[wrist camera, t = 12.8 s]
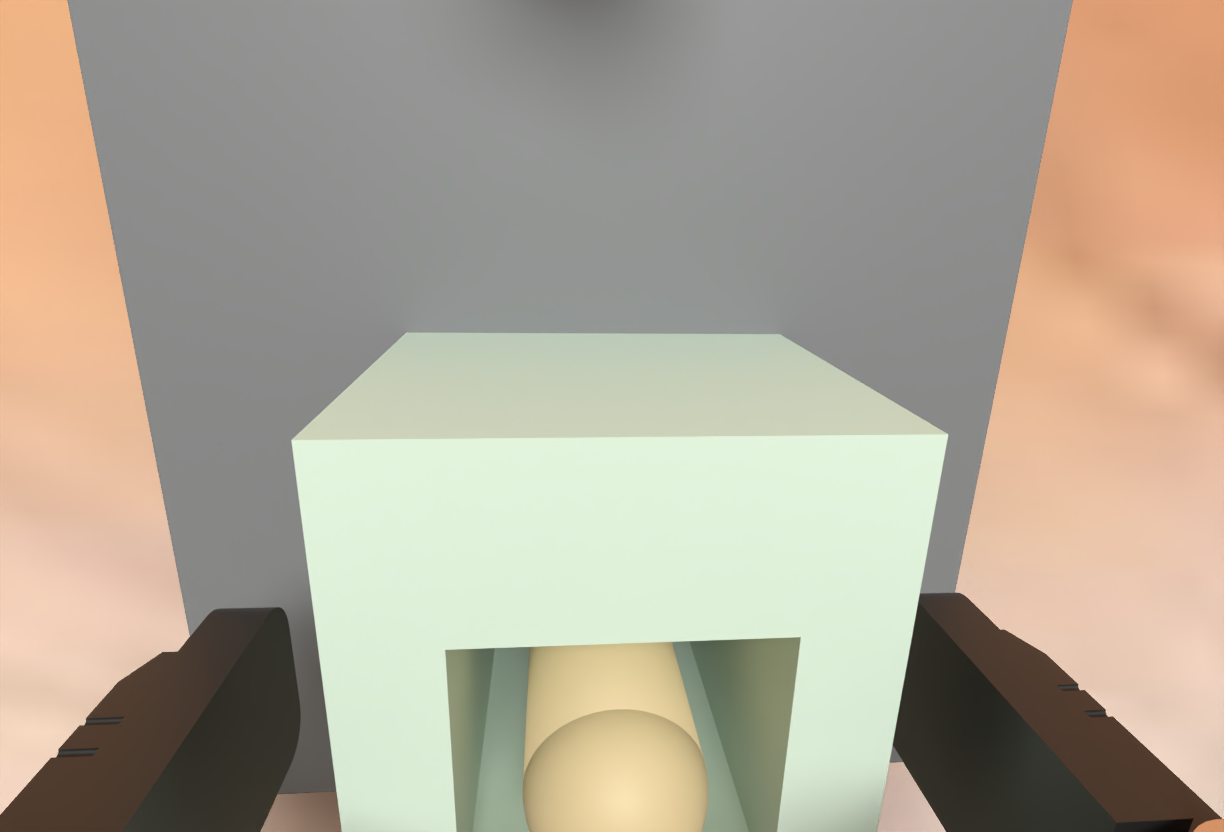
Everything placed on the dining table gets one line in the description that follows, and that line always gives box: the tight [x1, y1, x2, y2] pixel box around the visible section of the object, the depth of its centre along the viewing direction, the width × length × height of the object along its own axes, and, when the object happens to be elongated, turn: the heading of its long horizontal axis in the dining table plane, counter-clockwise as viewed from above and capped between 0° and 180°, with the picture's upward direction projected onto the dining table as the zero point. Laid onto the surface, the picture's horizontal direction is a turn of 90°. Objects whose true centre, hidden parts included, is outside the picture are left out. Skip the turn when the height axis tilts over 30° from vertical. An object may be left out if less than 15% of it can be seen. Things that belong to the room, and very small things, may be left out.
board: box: [67, 0, 1073, 832], centre depth 8 cm, size 22×14×8 cm, turn 179°
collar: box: [291, 332, 948, 832], centre depth 10 cm, size 8×6×5 cm
